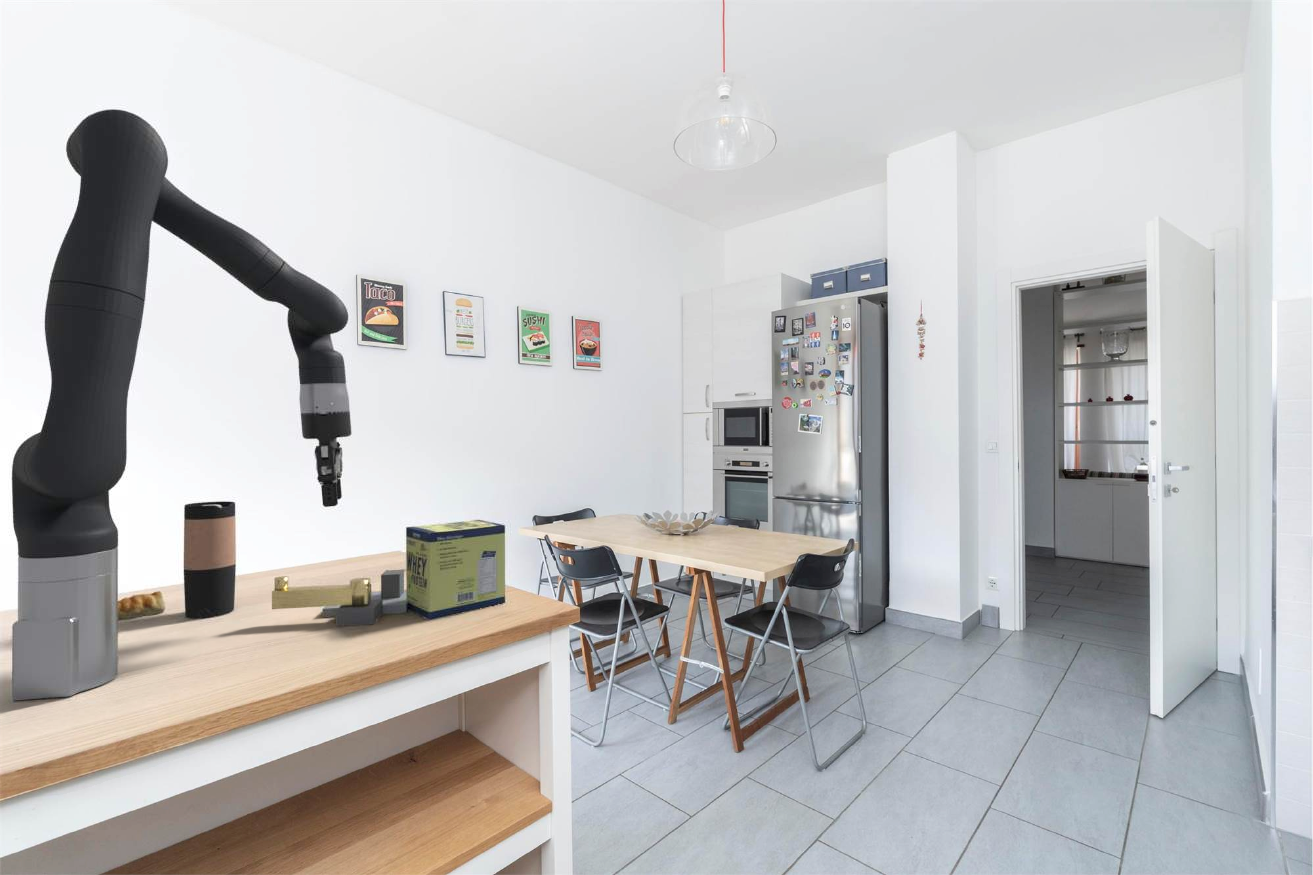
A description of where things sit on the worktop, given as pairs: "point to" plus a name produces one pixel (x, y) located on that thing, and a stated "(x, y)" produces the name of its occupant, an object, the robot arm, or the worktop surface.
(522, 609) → the worktop surface
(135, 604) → the pastry
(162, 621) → the worktop surface
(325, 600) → the bar
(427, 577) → the protein box
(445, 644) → the worktop surface
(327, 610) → the plate
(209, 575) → the travel mug
